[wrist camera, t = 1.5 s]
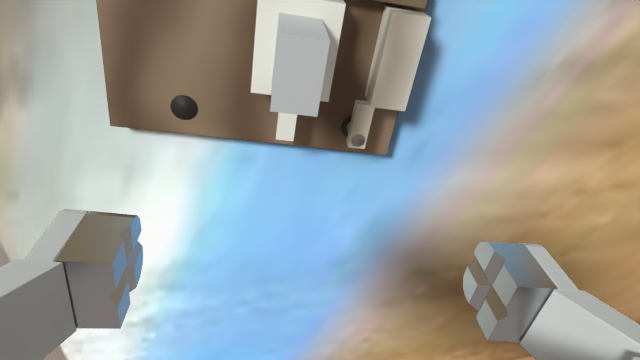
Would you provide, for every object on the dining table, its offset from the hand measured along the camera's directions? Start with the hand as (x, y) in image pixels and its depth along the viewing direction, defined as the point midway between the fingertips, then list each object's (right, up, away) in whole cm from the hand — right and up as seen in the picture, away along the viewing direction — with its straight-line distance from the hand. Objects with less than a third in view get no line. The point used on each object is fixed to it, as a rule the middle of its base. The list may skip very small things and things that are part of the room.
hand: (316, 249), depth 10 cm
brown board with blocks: (-4, +10, +19) cm, 22 cm away
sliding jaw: (-2, +9, +18) cm, 20 cm away
